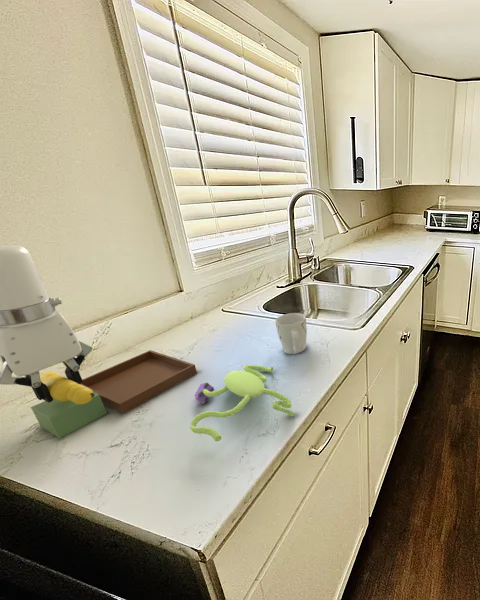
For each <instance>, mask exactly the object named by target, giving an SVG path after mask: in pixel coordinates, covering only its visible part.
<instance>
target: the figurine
mask: <svg viewBox="0 0 480 600" xmlns="http://www.w3.org/2000/svg"><path fill="white" fill-rule="evenodd" d="M261 371H262V372H267V373H272V372H274V366H271V367H269V366H264V365H256V364H255V365H254V364H245V365H244V366H243V370H240V369H239V370H233V371H230V372H228V373H227V374H225V376H224V379H223V383H224V385H225V386H223V387H221V388H220V389H217V390H215V388H214V386H212V385H211V384H210V383H208V382H203V383H201V384H199V386H198V388H197V390H196V392H195V393H194V395H193V396H194V397H195V398H194V399H195V400H196V401H198V402H199V403H200V404H202V405H203V404H206V403H207V402H208V401H209V398H212V397H218V396H220V395H222V394H225V393H226V392H228V391H230V392H231V393H232V394H234V395H237V396H238V397H242V399H241V400H240V401H239V403H237V405H236V406H234V407H233V408H232V409H229V410H226V411H216V410H206V411H203V412H200V413H198V414H197V415H196V416H194V417H193V419H192V420H191V422H190V425H189V426H190V427H189V429H190V431H192V432H193V433H194V434H197V435H200V434H201V435H202V434H204V435H208V436H210V437H211V438H212V440H214V442H220V441H222V439H223V437H222V435H221V434H220V432H219V431H217V430H216V429H214V428H212V427H207V426H196V425H197V424H198V423H199V422H200V421H202V420H203V419H206V418H210V417H211V418H221V419H222V418H229V417H231V416H234V415H236V414H238V413H239V412H240V411H241V410H242V409H243V408H244V407H245V406H246V405H247V403H248V402H249V401H250V400H251V399H252V398H253V399H254V398H258V397H260V396H262V395H263V394H264V395H269V396H272V397H275V398H276V399H278V400H274V401H273V402H272V406H271V407H272V409H273V410H275V411H277V412H282V413H285V414H287V415H288V416H290V417H293V416H295V413H294V412H293V411H292V410H289V409H291V408H292V401H290V399H289V398H288V397H287V396H285V395H284V394H282V393H280V392H279V391H276V390H274V389H270V388H265V384H264V383H266V382H267V381H268V377H266V376H265V375H264V374H263V373H261Z"/></svg>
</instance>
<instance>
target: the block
mask: <svg viewBox="0 0 480 600" xmlns="http://www.w3.org/2000/svg"><path fill="white" fill-rule="evenodd" d="M94 394H95V395H94V397H93V398H92V400H91V401H89V402H88V403H86V404H76V403H74V402H72V401H58V400H56V399H54V398H53V400H52V402H49V403H48V402H47V401H45V400H43V401H42V402H39V403H38V404H35V405H33V406H31V407H30V408H31V411H32V412H33V414H34V416H35V419H36V420H37V422H38V424H39V426H40V427H41V428H42V429H44V430H46V431H47V432H49V433H51V434H52V435H54V436H55V437H57V438H59V439H61V438H63V437H65V436H67V435H69V434H71V433H72V432H74V431H76V430H78V429H80V428H82V427H84V426H86V425H87V424H89V423H91V422H93V421H95V420H97V419H99V418H101V417H102V416H104V415H106V414H108V412H107V411H106V408H105V406H104V405H105V404H103V403H102V400H101V398H100V396H99V394H97V393H94Z"/></svg>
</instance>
